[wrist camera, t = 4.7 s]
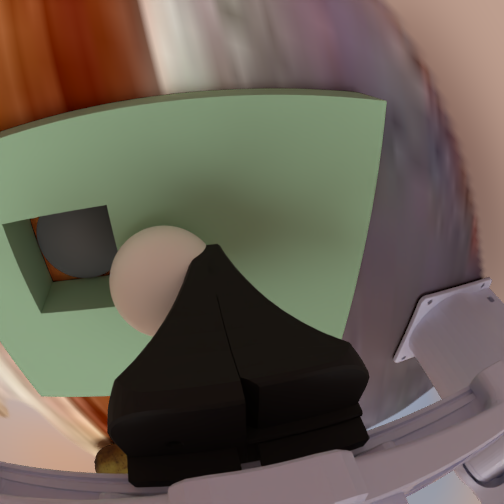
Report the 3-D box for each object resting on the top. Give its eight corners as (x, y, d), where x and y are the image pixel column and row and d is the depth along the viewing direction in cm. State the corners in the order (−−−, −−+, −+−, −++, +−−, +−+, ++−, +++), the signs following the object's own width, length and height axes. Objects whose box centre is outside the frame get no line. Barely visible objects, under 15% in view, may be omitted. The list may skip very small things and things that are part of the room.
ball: (157, 290, 8) (76, 242, 10) (177, 379, 10) (103, 327, 12) (243, 225, 11) (158, 197, 12) (241, 312, 13) (168, 277, 15)
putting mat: (356, 92, 13) (386, 101, 11) (321, 335, 22) (334, 362, 20) (-50, 151, 10) (-78, 169, 8) (47, 368, 19) (41, 396, 17)
